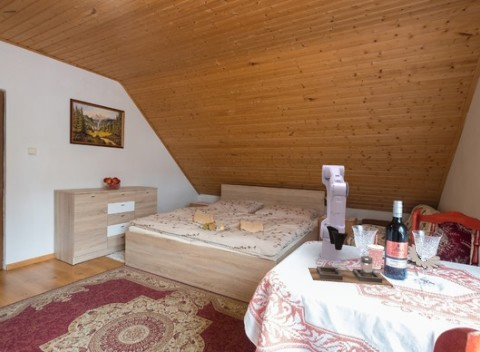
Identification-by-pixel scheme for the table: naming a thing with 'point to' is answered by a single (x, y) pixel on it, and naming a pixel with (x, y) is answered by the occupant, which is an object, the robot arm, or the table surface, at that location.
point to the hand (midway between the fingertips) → (335, 246)
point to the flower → (415, 257)
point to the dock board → (347, 276)
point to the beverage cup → (376, 254)
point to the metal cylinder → (366, 266)
